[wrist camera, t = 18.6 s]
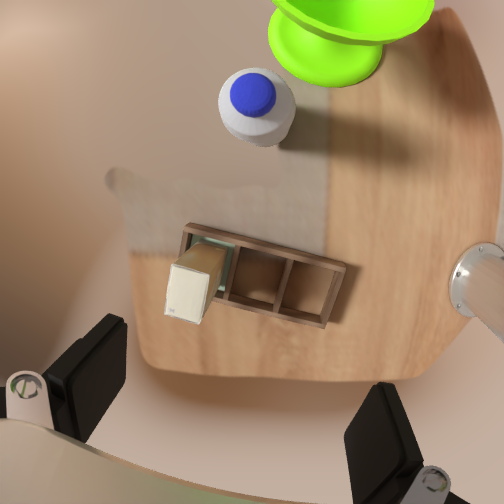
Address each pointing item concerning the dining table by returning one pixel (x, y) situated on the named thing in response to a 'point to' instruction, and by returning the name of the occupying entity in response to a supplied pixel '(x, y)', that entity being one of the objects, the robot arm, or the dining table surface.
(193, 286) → the skincare box
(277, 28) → the wineglass
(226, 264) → the mat
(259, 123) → the bottle
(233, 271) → the notch rack
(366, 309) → the dining table surface
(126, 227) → the dining table surface
